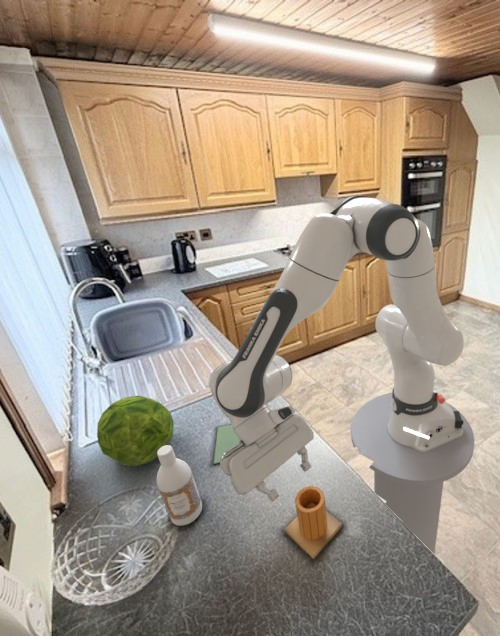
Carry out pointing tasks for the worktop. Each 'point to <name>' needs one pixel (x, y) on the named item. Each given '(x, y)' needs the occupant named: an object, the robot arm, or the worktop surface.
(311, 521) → the orange ribbed tube
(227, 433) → the mat
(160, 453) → the bath foam
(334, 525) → the post
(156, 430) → the lettuce
